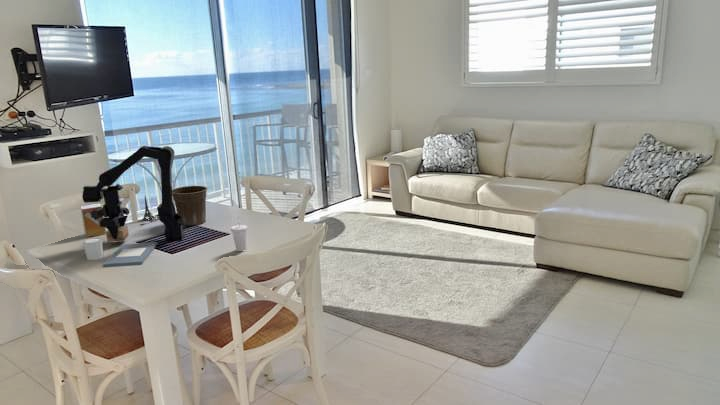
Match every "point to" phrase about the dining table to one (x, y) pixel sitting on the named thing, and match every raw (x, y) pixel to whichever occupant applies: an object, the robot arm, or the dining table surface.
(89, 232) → the small box
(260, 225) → the dining table surface
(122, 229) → the walnut block
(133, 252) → the board
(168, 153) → the robot arm
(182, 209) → the plant pot
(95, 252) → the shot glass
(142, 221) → the eiffel tower figurine
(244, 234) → the smoothie
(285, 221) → the dining table surface
